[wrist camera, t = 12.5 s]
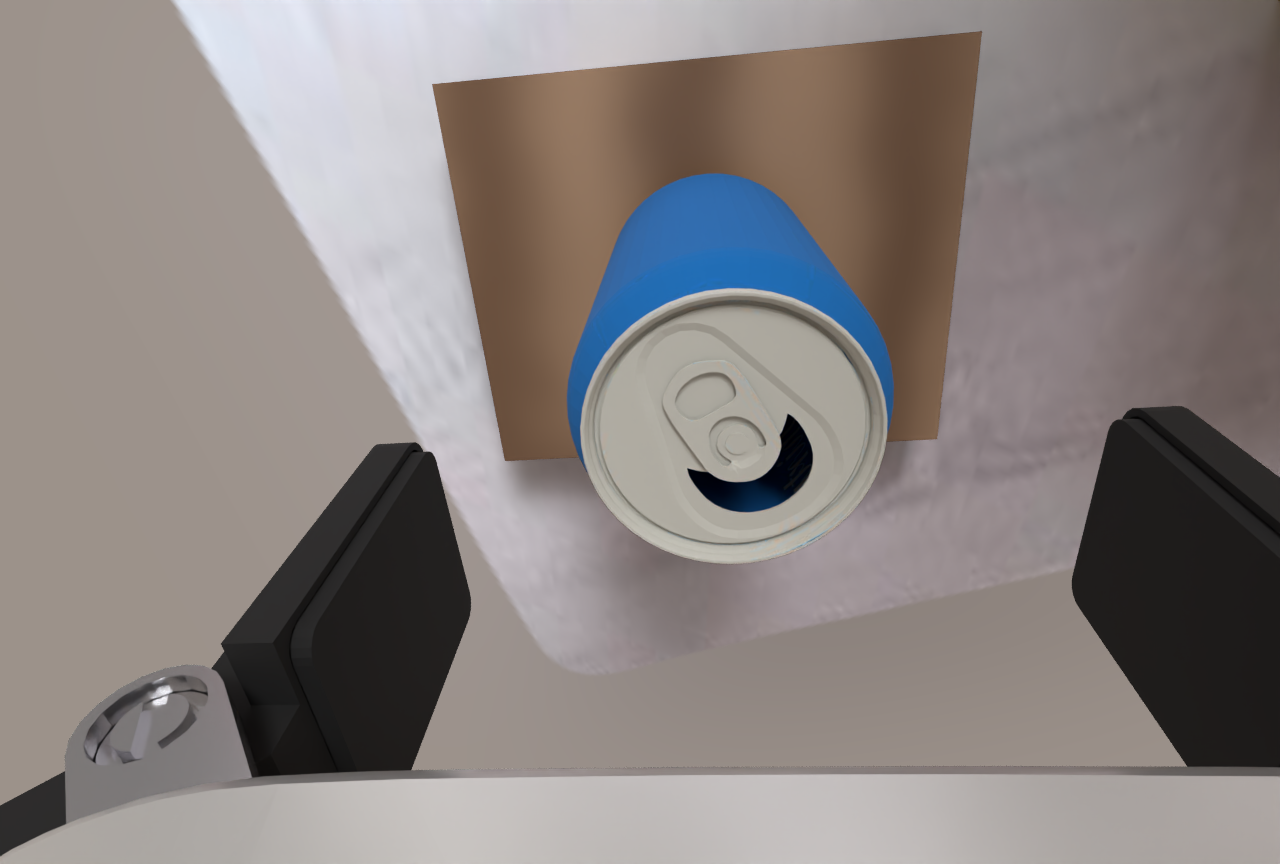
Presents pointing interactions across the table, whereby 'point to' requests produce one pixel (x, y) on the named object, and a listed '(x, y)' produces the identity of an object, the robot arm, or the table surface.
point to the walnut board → (711, 144)
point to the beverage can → (727, 378)
